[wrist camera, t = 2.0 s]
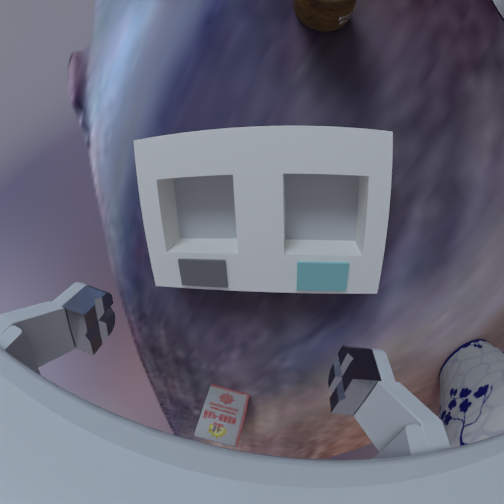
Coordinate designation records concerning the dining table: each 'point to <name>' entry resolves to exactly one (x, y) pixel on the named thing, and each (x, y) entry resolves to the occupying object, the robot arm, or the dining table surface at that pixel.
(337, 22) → the utensil holder
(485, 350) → the vase
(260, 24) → the dining table surface
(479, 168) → the dining table surface
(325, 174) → the socket box
